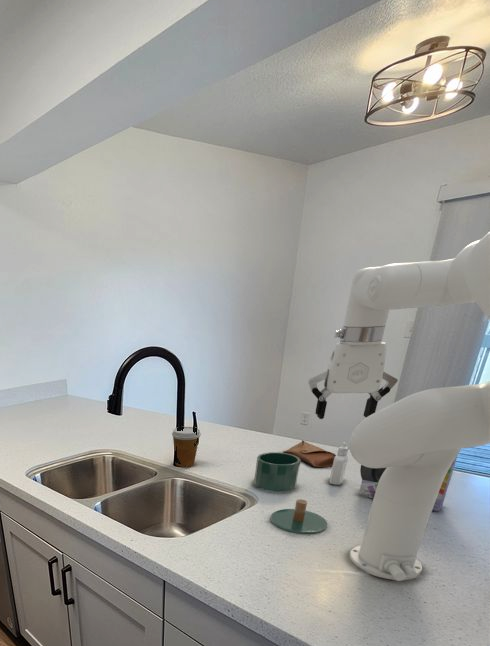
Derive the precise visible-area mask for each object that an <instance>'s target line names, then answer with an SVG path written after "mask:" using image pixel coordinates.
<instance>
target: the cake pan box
mask: <svg viewBox="0 0 490 646" xmlns="http://www.w3.org/2000/svg"><path fill="white" fill-rule="evenodd" d="M458 455H459V454H458ZM458 455H457V457H456V458H455V460H454V462H453V463H452V465H451V466H450V468H449V470H448V472H447V474H446V476H445V478H444V480H443V482H442V485H441V487H440V490H439V493H438V496H437V499H436V501H435V504H434V507H433V509H432V511H435V512H440V511H441V509H442V507H443V505H444V501H445V498H446V495H447V491H448V489H449V485H450V482H451V480H452V476H453V472H454V469H455V466H456V463H457V462H456V461H457V458H458ZM359 470H360V477H361V484H360V489H359V491H358V494H359V495H362V496H366V497H367V498H369V499H372V500H373V499H374V496H375V492H376V489H377V485H378V482H379V480H380V478H381V476H382V474H383V472H384V471H385V470H386V468H369V467H365V466H363V465H361V464H360V469H359Z"/></svg>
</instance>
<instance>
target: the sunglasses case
mask: <svg viewBox="0 0 490 646" xmlns="http://www.w3.org/2000/svg"><path fill="white" fill-rule="evenodd" d="M283 453H287V454H291V455H294V456H296V457H298V458H299V459H300V460H301V461H300V462H303V463H304V464H307V465H310V466H312V467H314V468H329V467H331V468H332V466H333V462H334V458H335V456H336V455H337V454H336V453H333V452H331V451H329V450H326V449H323V448H321V447H319V446H316V445H314V444H311V443H309V442H307V441H305V440H303V439H302V440H301V441H300V442H298V443H296V444H295V445H294V446H291V447H290V448H288V449H286V450H284V451H283Z"/></svg>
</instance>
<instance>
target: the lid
mask: <svg viewBox="0 0 490 646" xmlns="http://www.w3.org/2000/svg"><path fill="white" fill-rule="evenodd" d="M307 506H308V501H307V500H306V499H296V501H295V505H294V508H284V509H279V510H275V511H274V512H272V514H271V516H270V522H271V523H272V524H273V525H274V526H275V527H276V528H278V529H280V530H282V531H286V532H289V533H293V534H300V535H313V534H318V533H321V532H323V531H325V530H326V529H327V526H328V522H327V520H326V519H325V517H323V516H321V515H319V514H318V513H315V512H312V511H309V510H307Z"/></svg>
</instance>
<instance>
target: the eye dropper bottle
mask: <svg viewBox="0 0 490 646" xmlns="http://www.w3.org/2000/svg"><path fill="white" fill-rule="evenodd" d="M348 451H349V447H348V446H347V442H342V445H340V446H339V447H338V448H337V454H335V455H336V456H335V458H334V462H333V466H331V471H330V476H329V479H328V480H329V481H328V482H329V484H330V485H336V486H340V485H341V484H343V482H344V477H345V474H346V469H347V465H348V461H349V456H348Z"/></svg>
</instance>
